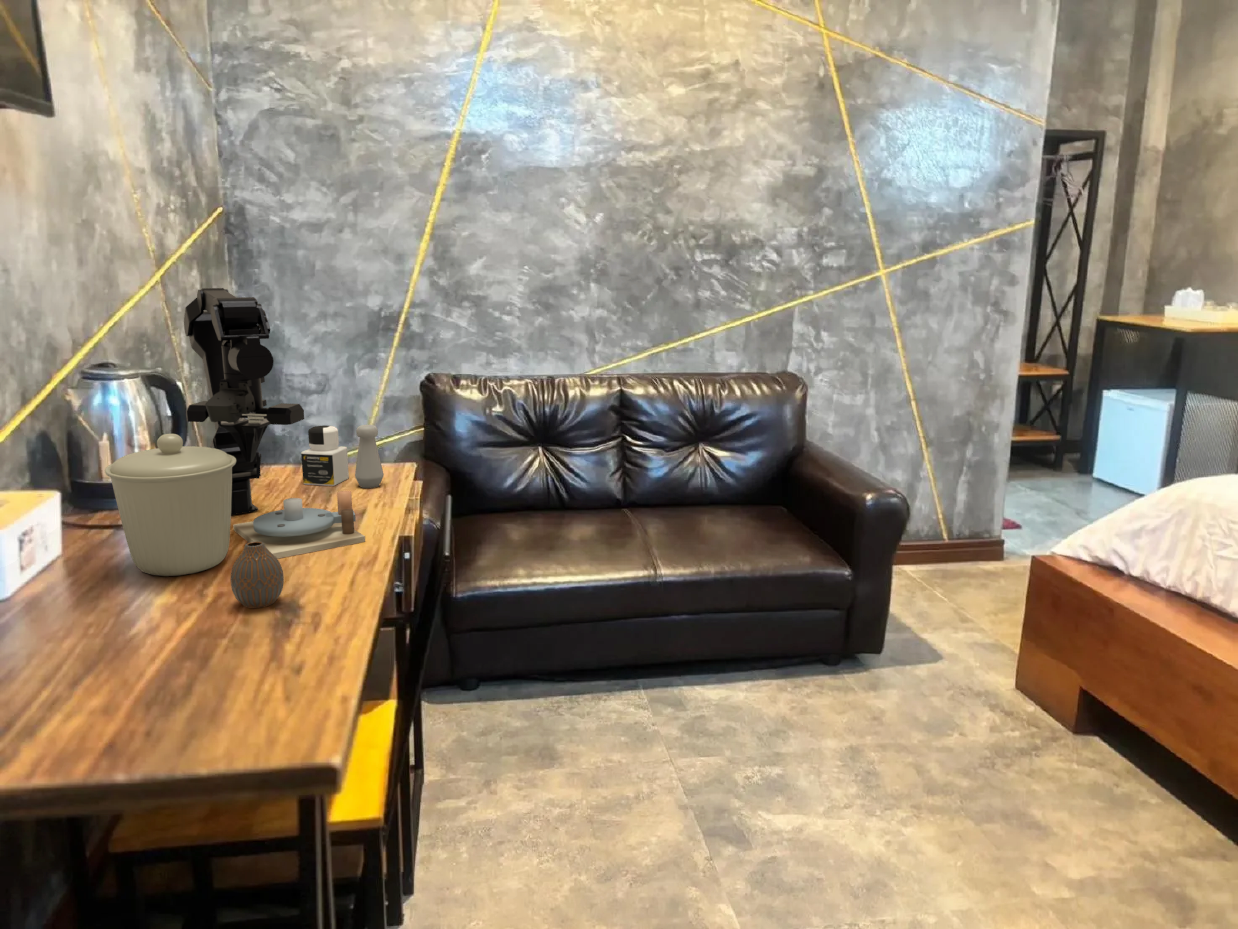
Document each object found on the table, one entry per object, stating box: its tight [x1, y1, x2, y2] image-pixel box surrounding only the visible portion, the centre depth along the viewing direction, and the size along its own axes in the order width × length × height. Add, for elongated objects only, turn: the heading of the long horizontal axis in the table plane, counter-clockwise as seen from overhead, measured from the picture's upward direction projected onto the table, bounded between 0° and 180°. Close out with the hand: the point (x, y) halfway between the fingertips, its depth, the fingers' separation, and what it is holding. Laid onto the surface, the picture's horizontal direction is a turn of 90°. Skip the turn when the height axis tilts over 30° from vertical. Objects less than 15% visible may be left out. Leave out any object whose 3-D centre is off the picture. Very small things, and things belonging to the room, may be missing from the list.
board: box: [232, 508, 366, 560], centre depth 157 cm, size 20×16×5 cm
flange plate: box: [253, 490, 357, 537], centre depth 155 cm, size 16×13×5 cm
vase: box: [230, 541, 285, 609], centre depth 127 cm, size 7×7×9 cm
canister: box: [104, 433, 236, 577], centre depth 140 cm, size 18×18×21 cm
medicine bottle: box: [300, 425, 350, 487], centre depth 194 cm, size 7×7×12 cm
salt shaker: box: [354, 424, 385, 489], centre depth 190 cm, size 6×6×13 cm
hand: (249, 461), depth 158 cm, fingers closed
